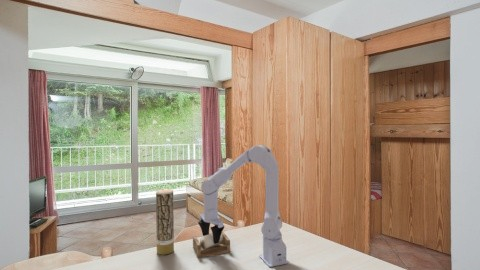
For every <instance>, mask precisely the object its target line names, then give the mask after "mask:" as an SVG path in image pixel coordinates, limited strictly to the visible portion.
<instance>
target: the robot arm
mask: <svg viewBox="0 0 480 270" xmlns="http://www.w3.org/2000/svg"><path fill="white" fill-rule="evenodd" d="M247 163H254V164H257V165H259V166H260V167H261V168H262V169H263V170H265V212H264V218H263V224H262V226H261V229H260V230H261V234H262V253H260V254H258V255H259V258H260V259H261V260H262V261H263V262H264V263H265V264H266V265H267V266H268V267H270V268H273V267H277V266H281V265H287V264H289V261H288V260H287V245H286V244H285V242H284V241H283V234H282V232H281V228H282V227H283V221H282V219H281V214H280V209H279V206H280V205H279V203H280V202H279V201H280V200H279V188H280V186H279V181H280V180H279V176H280V175H279V170H280V169H279V167H280V166H279V163H278V161H277V159H276V158H275V156H274V154H273V152H272V150H271V149H270V148H268V147H267V146H266V145H264V144H259V145H253V146H251V147H250V148H249V149H247V150H245V151H244V152H243V153H241V154H240V155H239V156H238V157H237V158H236V159H234V161H232V162H231V163H230V164H229V165H228V166H226V167H225V166H222V167H219V168H217V169H216V170H217V171H216V172H215V173H213V174H212V175H209V179H205V180H203V181H202V183H201V185H200V186H201V187H200V189H201V191H202V192H203V213H201V214H200V215H199V221H198V225H199V227H200V229H201V233H202V236H205V235H208V234H210V230H211V233H212V234H213V242H214V244H217V243H219V240H220V236H221V233H222V232H224V229H225V225H224V222H223V221H222V220H221V219H220V218H221V217H220V216H219V213H218V209H219V208H218V207H219V206H218V201H219V200H218V192H219V190H220V188H221V187H222V186H223V185H225V184H226V183H227V182H229V180H231V179H232V175H233V174H234V173H235V172H236V171H237V170H239V169H240V168H241V167H242V166H245V164H247ZM211 225H214V226H211Z"/></svg>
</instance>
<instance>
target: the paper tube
mask: <svg viewBox="0 0 480 270" xmlns="http://www.w3.org/2000/svg"><path fill="white" fill-rule="evenodd" d="M155 192H156V193H155V201H156V202H155V204H156V206H155V207H156V208H155V209H156V210H155V215H156V218H155V219H156V220H155V222H156V224H155V225H156V226H155V227H156V252H157V253H156V254H158V255H161V256H163V255H169V254H171V253H173V252H174V248H175V245H174V244H175V243H174V242H175V241H174V239H175V238H174V236H175V235H174V233H175V230H174V227H175V226H174V217H175V216H174V190H173V189H168V188H167V189H166V188H165V189H160V190H156V191H155Z"/></svg>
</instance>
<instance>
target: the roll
mask: <svg viewBox="0 0 480 270" xmlns="http://www.w3.org/2000/svg"><path fill="white" fill-rule="evenodd" d="M222 241H223V237H222V234H221V236H220V240H219V243H217V244H214V242H213V234H212V232H211V233H209V234H208V235H205V236H203V235H202V236H200V238H199V243H200V244H201V247H202V248H203V249H207V248H210V247H212V246H215V245H218V244H221V243H222Z"/></svg>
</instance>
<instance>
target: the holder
mask: <svg viewBox="0 0 480 270" xmlns="http://www.w3.org/2000/svg"><path fill="white" fill-rule="evenodd" d="M221 234H222V237H223V241H222V243H221V244H218V245H215V246H212V247H210V248H207V249H203V248H202V247H201V244H200V240H199V239H198V237H197V235H193V236H192V249H193V251H194V254H195V255H196V258H197V259H200V258H205V257H211V256H217V255H223V254H228V253H229V254H230V252H231V239H230V238H229V237H228V236H227V235H226V233H225V232H224V231H222V233H221Z"/></svg>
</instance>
